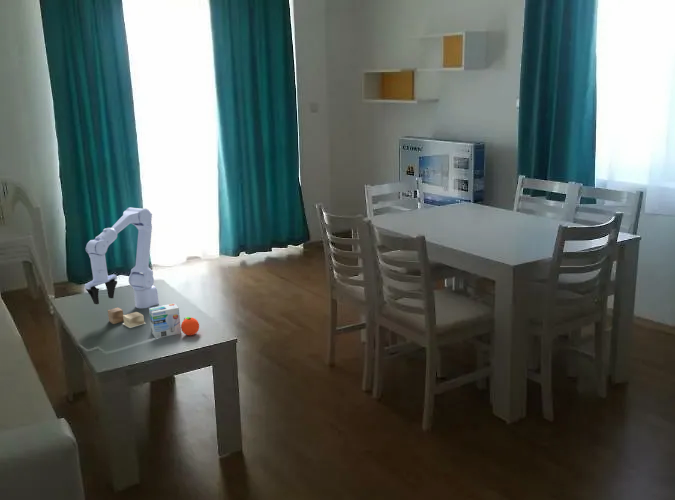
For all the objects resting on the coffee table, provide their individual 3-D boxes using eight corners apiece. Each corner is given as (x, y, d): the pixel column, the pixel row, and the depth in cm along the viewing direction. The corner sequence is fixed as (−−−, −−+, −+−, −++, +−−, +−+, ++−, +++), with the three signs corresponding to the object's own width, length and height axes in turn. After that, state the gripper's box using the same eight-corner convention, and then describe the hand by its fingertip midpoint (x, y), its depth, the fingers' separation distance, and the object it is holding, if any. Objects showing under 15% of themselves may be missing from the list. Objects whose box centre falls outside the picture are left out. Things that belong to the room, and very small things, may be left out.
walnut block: (119, 318, 276) (118, 307, 275) (124, 321, 272) (122, 309, 271) (109, 321, 273) (107, 310, 272) (113, 324, 270) (112, 312, 268)
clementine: (177, 334, 258) (175, 317, 256) (192, 329, 263) (190, 312, 261) (188, 339, 252) (186, 322, 251) (203, 334, 257) (201, 317, 255)
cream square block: (137, 319, 273) (136, 311, 273) (144, 323, 269) (143, 315, 268) (124, 323, 270) (123, 315, 269) (130, 327, 265) (129, 319, 264)
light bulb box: (154, 339, 254) (151, 312, 252) (150, 333, 260) (147, 307, 257) (182, 333, 259) (179, 307, 256) (177, 328, 265) (175, 302, 262)
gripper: (106, 263, 275) (110, 294, 279) (77, 272, 263) (82, 305, 267) (118, 265, 272) (122, 296, 275) (90, 274, 260) (94, 307, 263)
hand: (103, 300), depth 271 cm, fingers open, 7 cm apart
